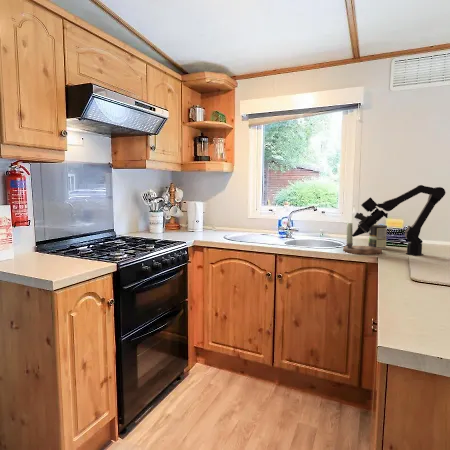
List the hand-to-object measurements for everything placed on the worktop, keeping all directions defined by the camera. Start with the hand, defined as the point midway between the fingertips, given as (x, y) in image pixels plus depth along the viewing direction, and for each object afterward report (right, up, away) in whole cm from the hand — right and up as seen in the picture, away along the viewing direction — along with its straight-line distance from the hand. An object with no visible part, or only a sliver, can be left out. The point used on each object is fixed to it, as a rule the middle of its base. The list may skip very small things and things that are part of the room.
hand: (352, 236), depth 197 cm
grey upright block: (+20, -8, +13) cm, 26 cm away
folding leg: (-1, -6, +1) cm, 7 cm away
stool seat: (+5, -9, -1) cm, 10 cm away
